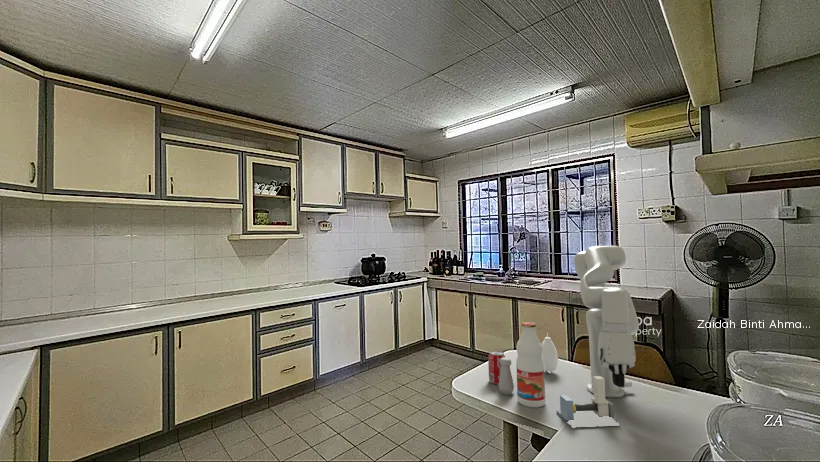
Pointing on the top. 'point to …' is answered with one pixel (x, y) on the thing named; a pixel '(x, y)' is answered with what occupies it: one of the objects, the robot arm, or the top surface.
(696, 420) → the top surface
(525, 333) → the fruit juice
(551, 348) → the sauce bottle
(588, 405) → the blue block with rod
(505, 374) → the salt shaker
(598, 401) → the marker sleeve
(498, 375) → the soda can
